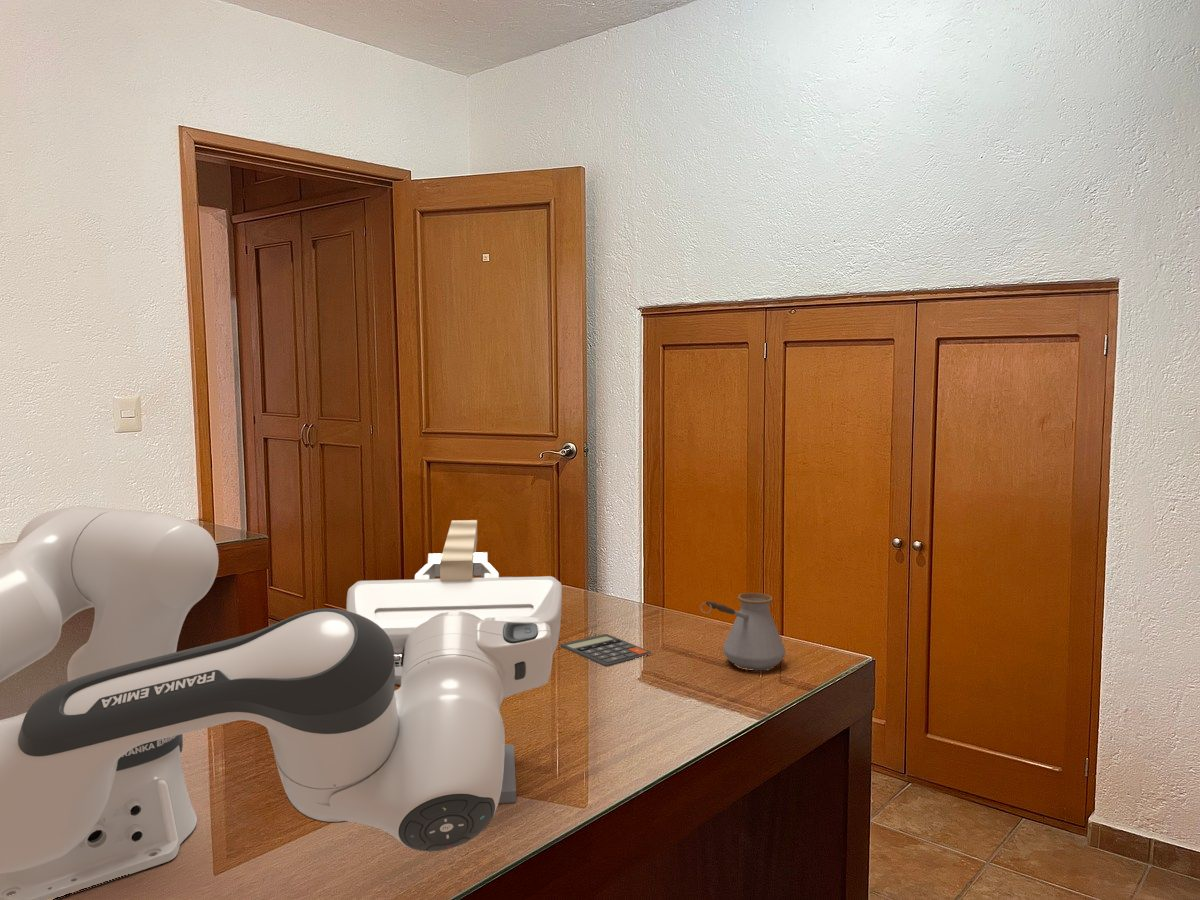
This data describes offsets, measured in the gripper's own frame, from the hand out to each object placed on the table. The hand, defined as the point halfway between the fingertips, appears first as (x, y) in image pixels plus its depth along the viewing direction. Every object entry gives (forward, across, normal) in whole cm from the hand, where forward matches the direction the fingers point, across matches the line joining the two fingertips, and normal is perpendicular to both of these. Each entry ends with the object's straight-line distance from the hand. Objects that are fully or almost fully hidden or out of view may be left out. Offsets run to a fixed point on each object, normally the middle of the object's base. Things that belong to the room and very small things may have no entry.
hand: (458, 557), depth 90 cm
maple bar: (+4, 0, -4) cm, 6 cm away
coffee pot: (+38, +47, -64) cm, 88 cm away
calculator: (+50, +25, -71) cm, 90 cm away
